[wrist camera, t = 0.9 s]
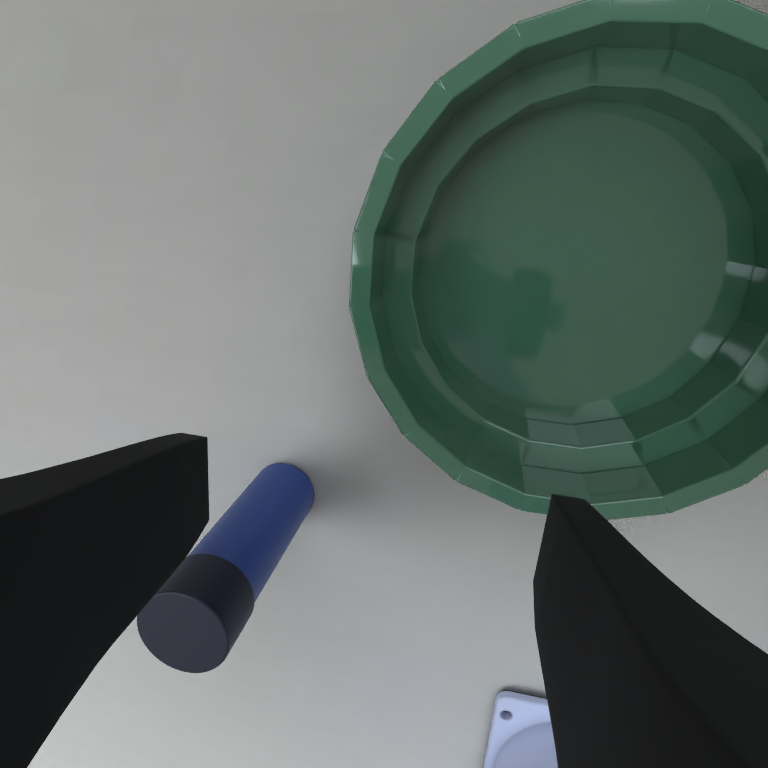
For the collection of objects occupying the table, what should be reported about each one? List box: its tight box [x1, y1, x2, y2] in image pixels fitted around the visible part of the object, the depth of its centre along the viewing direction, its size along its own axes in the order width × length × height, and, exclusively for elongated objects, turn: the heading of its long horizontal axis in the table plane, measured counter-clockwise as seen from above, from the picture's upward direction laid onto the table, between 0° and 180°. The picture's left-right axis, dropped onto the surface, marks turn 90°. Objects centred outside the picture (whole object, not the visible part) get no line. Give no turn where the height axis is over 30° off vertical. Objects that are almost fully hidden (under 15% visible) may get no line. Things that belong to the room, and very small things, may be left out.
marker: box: [137, 463, 314, 673], centre depth 19 cm, size 3×3×8 cm
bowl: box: [349, 0, 768, 520], centre depth 16 cm, size 13×13×4 cm
